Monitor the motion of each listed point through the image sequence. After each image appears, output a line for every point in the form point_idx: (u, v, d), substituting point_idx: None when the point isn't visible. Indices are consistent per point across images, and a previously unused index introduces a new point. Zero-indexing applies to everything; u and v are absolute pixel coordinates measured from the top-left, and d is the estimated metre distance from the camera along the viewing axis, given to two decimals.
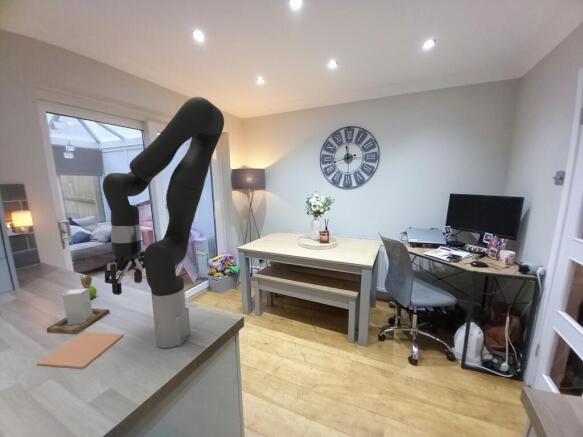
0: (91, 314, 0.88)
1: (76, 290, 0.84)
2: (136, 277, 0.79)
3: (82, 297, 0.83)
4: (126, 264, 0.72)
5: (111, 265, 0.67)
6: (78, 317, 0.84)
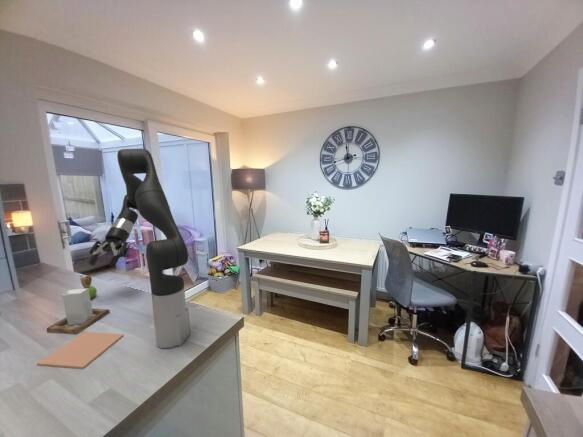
0: (91, 314, 0.88)
1: (76, 290, 0.84)
2: None
3: (82, 297, 0.83)
4: None
5: None
6: (78, 317, 0.84)
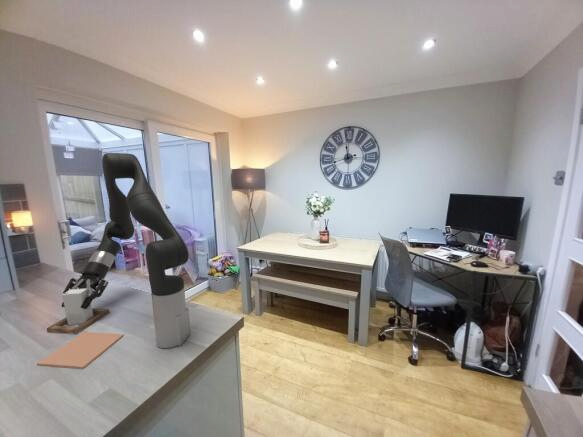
0: (91, 314, 0.88)
1: (76, 290, 0.84)
2: None
3: (82, 297, 0.83)
4: None
5: None
6: (78, 317, 0.84)
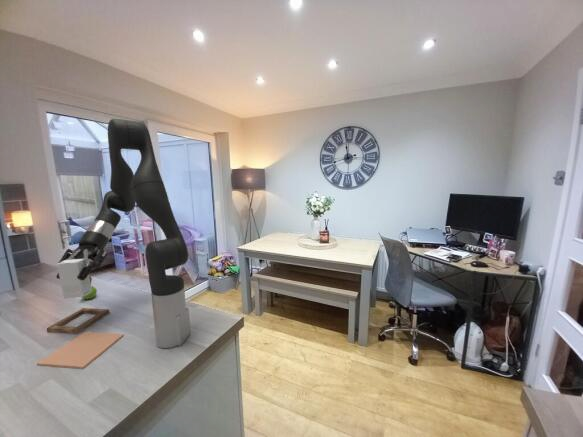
0: (89, 287, 0.80)
1: (73, 260, 0.77)
2: None
3: (79, 267, 0.76)
4: None
5: None
6: (74, 289, 0.76)
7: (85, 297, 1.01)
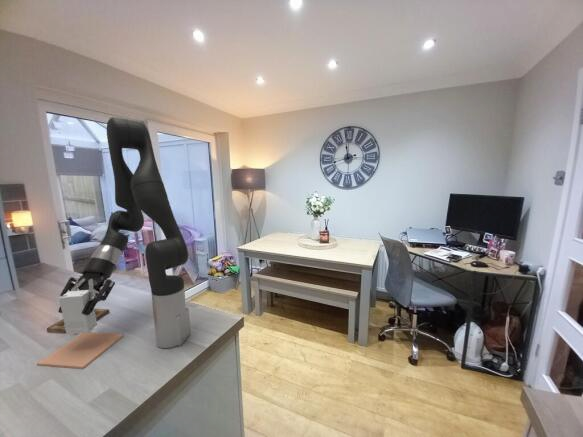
0: (94, 321, 0.73)
1: (77, 292, 0.70)
2: None
3: (84, 301, 0.68)
4: None
5: None
6: (78, 324, 0.69)
7: None
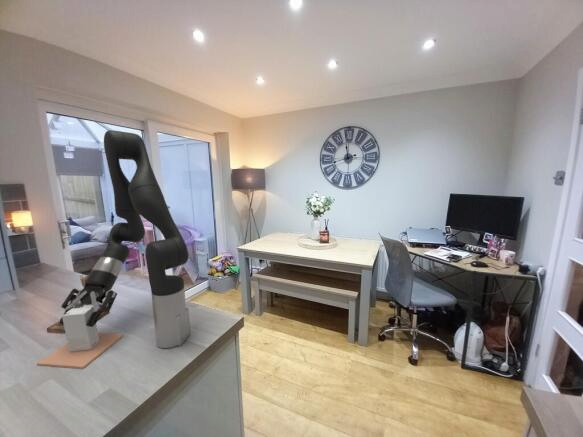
0: (97, 338, 0.74)
1: (79, 309, 0.71)
2: None
3: (86, 318, 0.69)
4: None
5: None
6: (81, 342, 0.70)
7: None
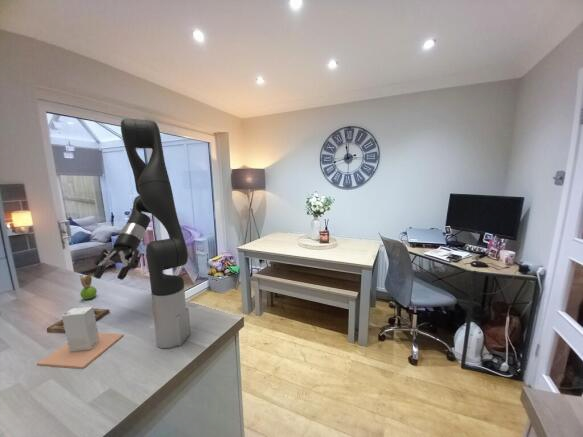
0: (97, 338, 0.74)
1: (79, 309, 0.71)
2: None
3: (86, 318, 0.69)
4: None
5: None
6: (81, 342, 0.70)
7: (85, 297, 1.01)
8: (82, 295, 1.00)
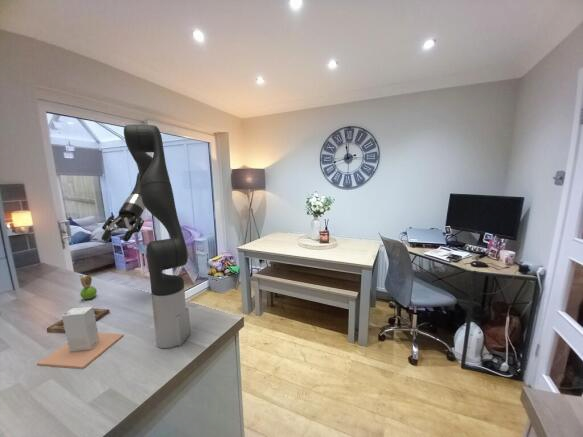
0: (97, 338, 0.74)
1: (79, 309, 0.71)
2: None
3: (86, 318, 0.69)
4: None
5: None
6: (81, 342, 0.70)
7: (85, 297, 1.01)
8: (82, 295, 1.00)
